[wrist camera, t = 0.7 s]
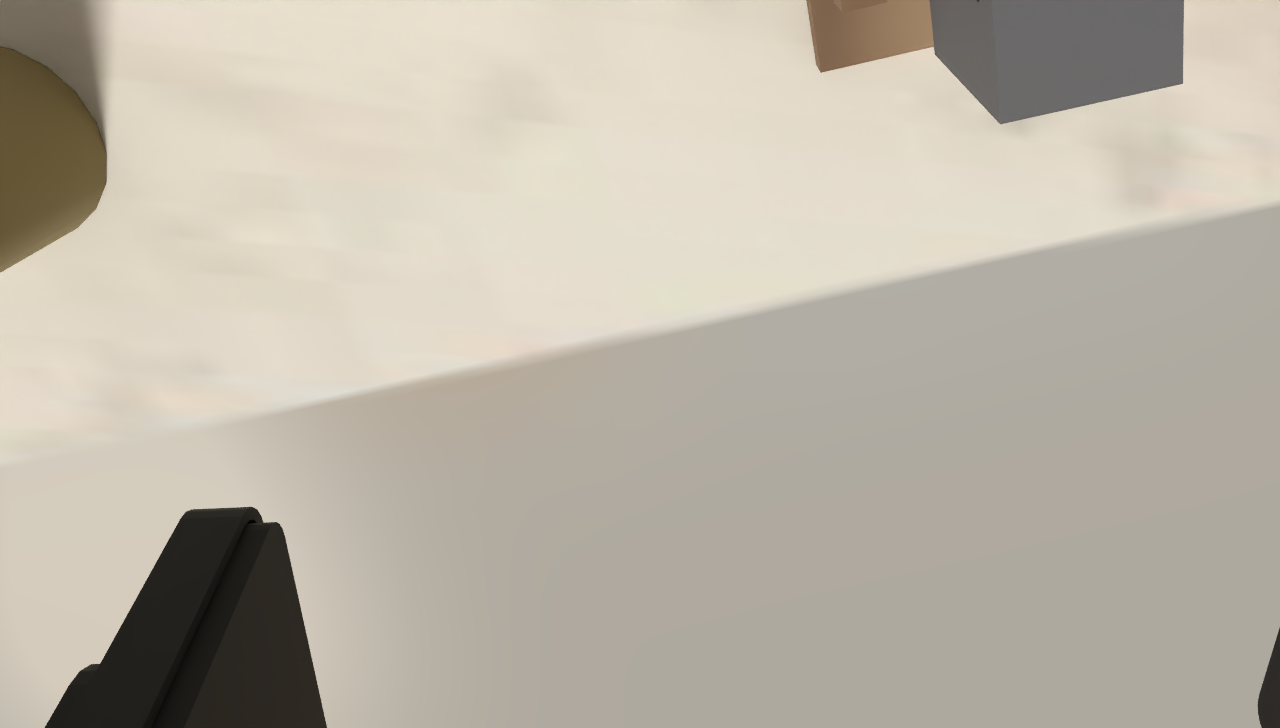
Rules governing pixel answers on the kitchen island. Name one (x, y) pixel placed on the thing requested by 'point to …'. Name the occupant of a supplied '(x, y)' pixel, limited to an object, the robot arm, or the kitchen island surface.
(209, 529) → the robot arm
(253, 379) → the kitchen island surface
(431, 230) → the kitchen island surface
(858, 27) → the wooden rail stand
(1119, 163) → the kitchen island surface
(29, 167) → the cork
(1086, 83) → the notched grey block
